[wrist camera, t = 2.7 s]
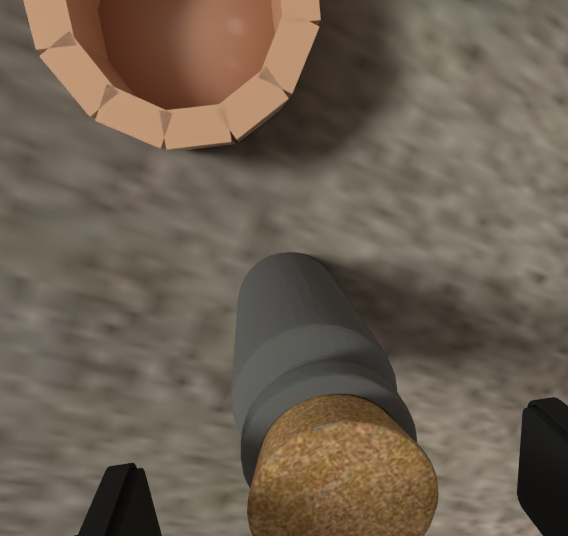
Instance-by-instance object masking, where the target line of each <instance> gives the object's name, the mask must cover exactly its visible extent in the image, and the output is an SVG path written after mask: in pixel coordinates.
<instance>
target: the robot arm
mask: <svg viewBox="0 0 568 536" xmlns="http://www.w3.org/2000/svg"><path fill="white" fill-rule="evenodd" d="M517 496H518V500H519V503H520V505H521V507H522V508H523V510H524V511H525V512H526V514H527V515H528V516H529V518H530V519H531V520H532V522H533V523H534V524H535V526H536V527H537V528H538V530H539V531H540V532H541V534H542V535H543V536H568V406H567V405H566V404H565V403H563V402H562V401H561V400H559V399H558V398H554V397H552V398H545V399H539V400H533V401H530V402H529V404H528V407H527V408H525V409H524V410H523V415H522V429H521V443H520V457H519V470H518V484H517ZM75 536H162V535H161V531H160V527H159V523H158V520H157V516H156V512H155V508H154V505H153V501H152V497H151V493H150V490H149V486H148V482H147V478H146V475H145V471H144V469H143V468H139V469H137V467H136V465H135V464H134V463H128V464H122V465H115V466H109V467H108V468H107V469H106V471H105V473H104V476H103V478H102V480H101V483H100V485H99V487H98V489H97V492H96V494H95V496H94V499H93V501H92V503H91V506H90V508H89V510H88V513H87V515H86V517H85V520H84V522H83V524H82V527H81V529H80V531H79V534H78V535H75Z"/></svg>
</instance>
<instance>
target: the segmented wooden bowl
mask: <svg viewBox="0 0 568 536" xmlns="http://www.w3.org/2000/svg"><path fill="white" fill-rule="evenodd" d="M24 4H25V8H26V12H27V16H28V20H29V24H30V28H31V32H32V36H33V40H34V44H35V48H36V50H38V51H40V52H42V54H41V55H40V58H41V59H42V60H43V61H44V62H45V64H46V65H47V66H48V67H49V68H50V69H51V71H52V72H53V73H54V74H55V75H56V77H57V78H58V79H59V80H60V81H61V83H62V84H63V85H64V86H65V87H66V89H67V90H68V91H69V92H70V93H71V95H72V96H73V97H74V98H75V99H76V101H77V102H78V103H79V104H80V105H81V107H82V108H83V109H84V110H85V111H86V113H87V114H88V115H89V116H90V117H93V118H96V120H95V121H97V122H100V123H102V124H104V125H107V126H109V127H111V128H114V129H116V130H118V131H121V132H123V133H125V134H128V135H130V136H132V137H135V138H137V139H139V140H142V141H144V142H146V143H149V144H151V145H153V146H156V147H158V148H160V149H167V150H181V151H182V150H190V149H199V148H211V147H216V146H224V145H233V144H234V141H238V142H240V141H241V140H243V139H244V138H245V137H246V136H248V135H249V134H250V133H252V132H253V131H254V130H256V129H257V128H259V127H260V126H261V125H262V124H263V123H264V122H266V121H267V120H268V119H269V118H271V117H272V116H273V115H274V114H276V113H277V112H278V111H280V110H281V109H282V107H283V106H284V105H285V103H286V102H287V101H288V99H289V98H290V96H291V95H292V93H293V91H294V88H295V86H296V84H297V81H298V79H299V76H300V74H301V71H302V69H303V66H304V64H305V61H306V59H307V56H308V54H309V52H310V49H311V47H312V44H313V42H314V39H315V37H316V34H317V32H318V29H319V26H318V24H319V22H320V20H321V18H320V6H319V0H24Z"/></svg>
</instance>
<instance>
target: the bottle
mask: <svg viewBox="0 0 568 536" xmlns="http://www.w3.org/2000/svg"><path fill="white" fill-rule="evenodd" d="M232 406H233V415H234V419H235V422H236V425H237V427H238V429H239V432H240V433H241V435H242V437H241V462H242V468H243V473H244V477H245V479H246V482H247V484H248V485H249V487H250V492H249V497H248V508H247V514H248V522H249V527H250V530H251V533H252V535H253V536H424V535H425V533H426V532H427V530H428V528H429V527H430V525H431V522H432V519H433V517H434V514H435V511H436V508H437V503H438V482H437V477H436V474H435V471H434V468H433V466H432V463H431V461H430V459H429V458H428V456H427V454H426V453H425V452H424V451H423V449H422V448H421V447H420V446H419V445H418V444H417V437H416V430H415V425H414V422H413V419H412V417H411V415H410V412H409V410H408V408H407V406H406V405H405V403H404V402H403V400H402V399H401V397H400V396H399V394H398V393H397V386H396V379H395V374H394V371H393V369H392V366H391V364H390V362H389V360H388V358H387V356H386V354H385V353H384V351H383V350H382V348H381V347H380V345H379V344H378V342H377V340H376V339H375V337H374V336H373V334H372V333H371V331H370V330H369V328H368V327H367V325H366V324H365V323H364V321H363V320H362V318H361V317H360V315H359V314H358V313H357V311H356V310H355V308H354V307H353V305H352V304H351V302H350V301H349V300H348V298H347V297H346V295H345V294H344V292H343V291H342V290H341V288H340V287H339V285H338V284H337V283H336V281H335V280H334V279H333V277H332V276H331V274H330V273H329V272H328V271H327V270H326V268H325V267H324V266H323V265H321V264H320V263H319V262H317V261H316V260H314V259H313V258H311V257H308V256H306V255H303V254H298V253H279V254H276V255H272V256H270V257H267V258H265V259H263V260H262V261H260V262H259V263H257V264H256V265H255V266H254V267H253V268H252V269H251V270H250V271H249V273H248V274H247V276H246V277H245V279H244V281H243V283H242V286H241V289H240V293H239V299H238V310H237V322H236V335H235V349H234V366H233V384H232Z"/></svg>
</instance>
